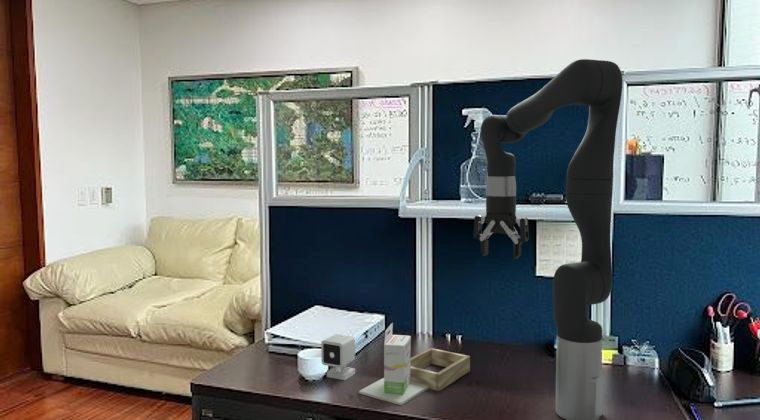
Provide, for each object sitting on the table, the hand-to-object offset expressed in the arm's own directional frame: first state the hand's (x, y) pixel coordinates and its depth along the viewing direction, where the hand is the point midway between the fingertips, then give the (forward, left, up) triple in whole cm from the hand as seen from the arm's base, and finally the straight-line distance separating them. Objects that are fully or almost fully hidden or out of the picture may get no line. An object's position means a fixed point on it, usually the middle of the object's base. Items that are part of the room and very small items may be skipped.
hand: (500, 256), depth 151 cm
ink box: (+15, +26, -30) cm, 42 cm away
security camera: (+32, +27, -30) cm, 52 cm away
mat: (+15, +26, -30) cm, 43 cm away
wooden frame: (+12, +13, -30) cm, 35 cm away
